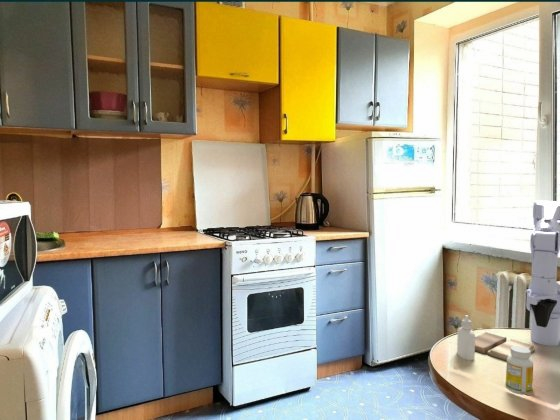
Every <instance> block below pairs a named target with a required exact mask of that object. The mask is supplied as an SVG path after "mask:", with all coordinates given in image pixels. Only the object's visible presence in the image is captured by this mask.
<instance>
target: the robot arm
mask: <svg viewBox="0 0 560 420" xmlns="http://www.w3.org/2000/svg"><path fill="white" fill-rule="evenodd" d="M532 218H533V225H534V232H531V234H530V242H529V243H530V244H529V245H530V246H529V247H530V257H531V273H530V274H531V276H530V284H529V286H528V287H527V288H528V289H526V290H525V293H526V303H525V306H526V309H527V310H528V311H529V312H530V314H531V320H530V341H532V342H534V343H536V344H539V345H544V346H549V347H551V346H552V347H554V346H559V345H560V284H559V283H558V282H557V277H558V276H557V275H558V257H559V253H560V200H539V199H538V200H537V199H536V200H535V201H534V202H533V207H532Z"/></svg>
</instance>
